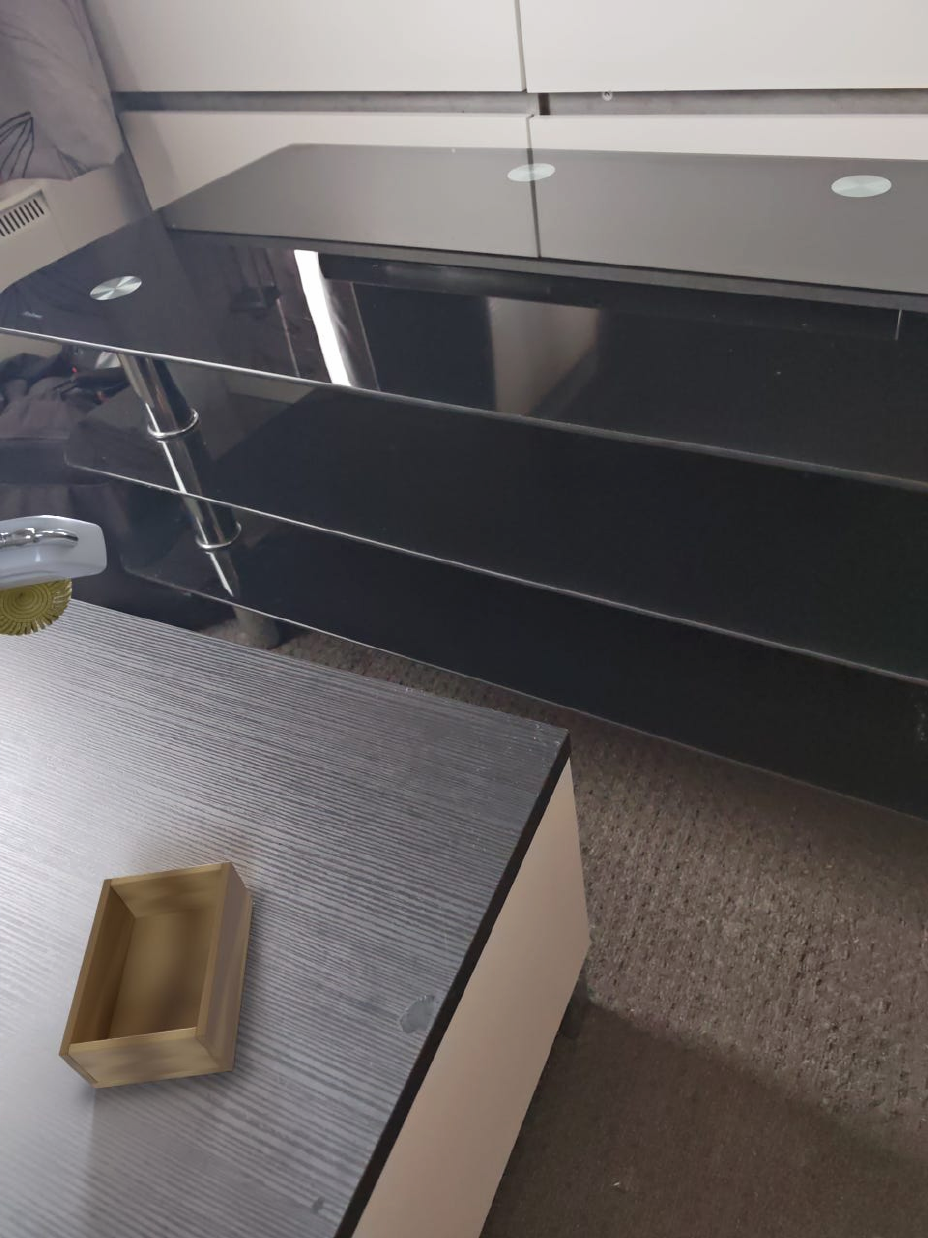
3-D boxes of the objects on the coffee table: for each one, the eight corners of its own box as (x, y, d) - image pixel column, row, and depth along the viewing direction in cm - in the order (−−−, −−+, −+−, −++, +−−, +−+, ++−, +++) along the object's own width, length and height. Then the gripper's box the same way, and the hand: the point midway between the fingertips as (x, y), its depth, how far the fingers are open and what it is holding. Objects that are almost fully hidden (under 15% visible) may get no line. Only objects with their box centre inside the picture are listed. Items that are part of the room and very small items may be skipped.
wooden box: (94, 1089, 59) (57, 1055, 56) (133, 917, 68) (103, 879, 65) (233, 1071, 59) (205, 1035, 55) (253, 900, 68) (230, 860, 64)
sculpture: (1, 661, 74) (-51, 586, 69) (-11, 636, 77) (-62, 563, 71) (94, 614, 77) (51, 538, 72) (80, 592, 80) (37, 517, 74)
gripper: (46, 483, 60) (135, 517, 74) (-250, 533, 61) (-108, 557, 75) (59, 578, 59) (145, 594, 73) (-240, 627, 61) (-99, 634, 74)
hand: (15, 576), depth 74 cm, fingers closed on sculpture, 7 cm apart
